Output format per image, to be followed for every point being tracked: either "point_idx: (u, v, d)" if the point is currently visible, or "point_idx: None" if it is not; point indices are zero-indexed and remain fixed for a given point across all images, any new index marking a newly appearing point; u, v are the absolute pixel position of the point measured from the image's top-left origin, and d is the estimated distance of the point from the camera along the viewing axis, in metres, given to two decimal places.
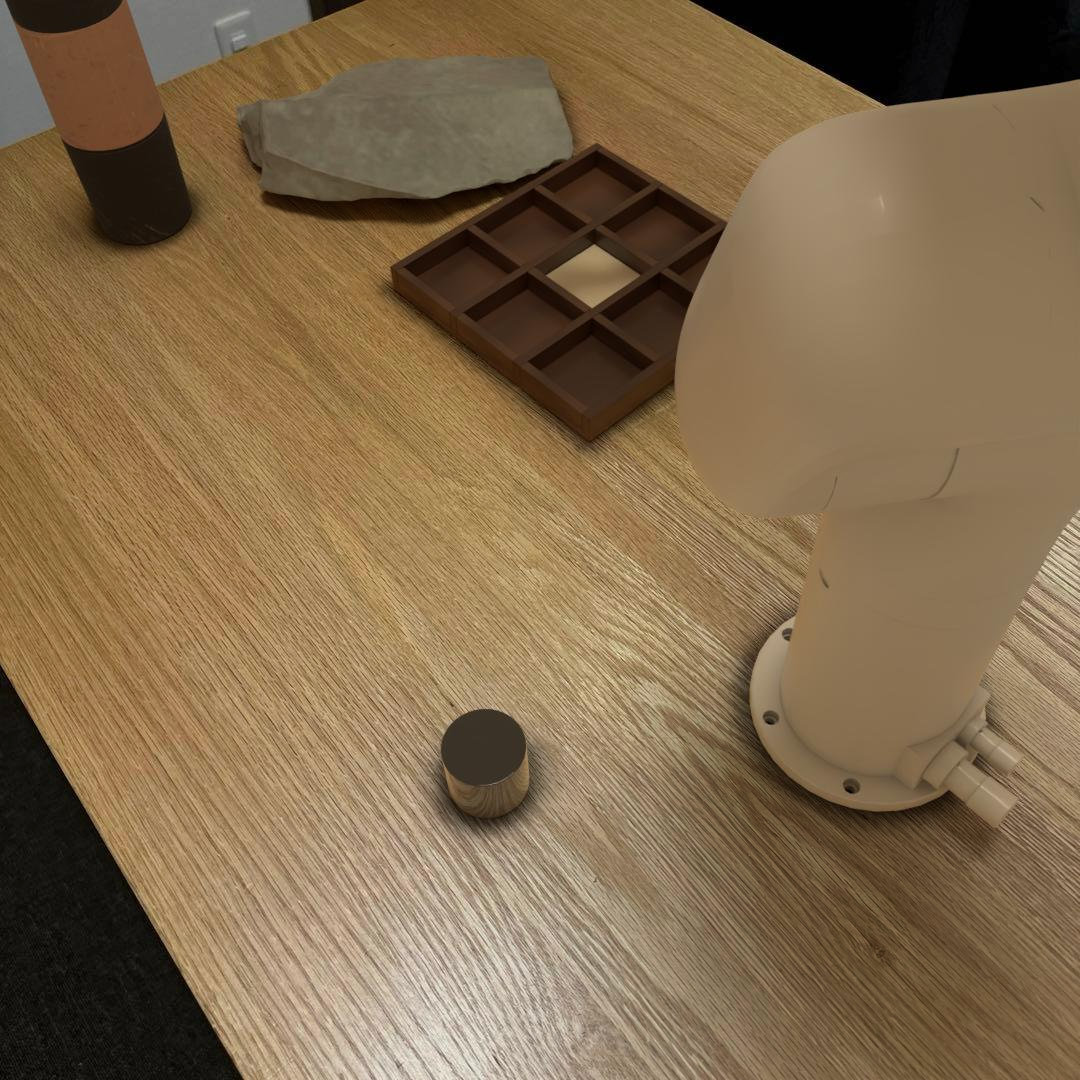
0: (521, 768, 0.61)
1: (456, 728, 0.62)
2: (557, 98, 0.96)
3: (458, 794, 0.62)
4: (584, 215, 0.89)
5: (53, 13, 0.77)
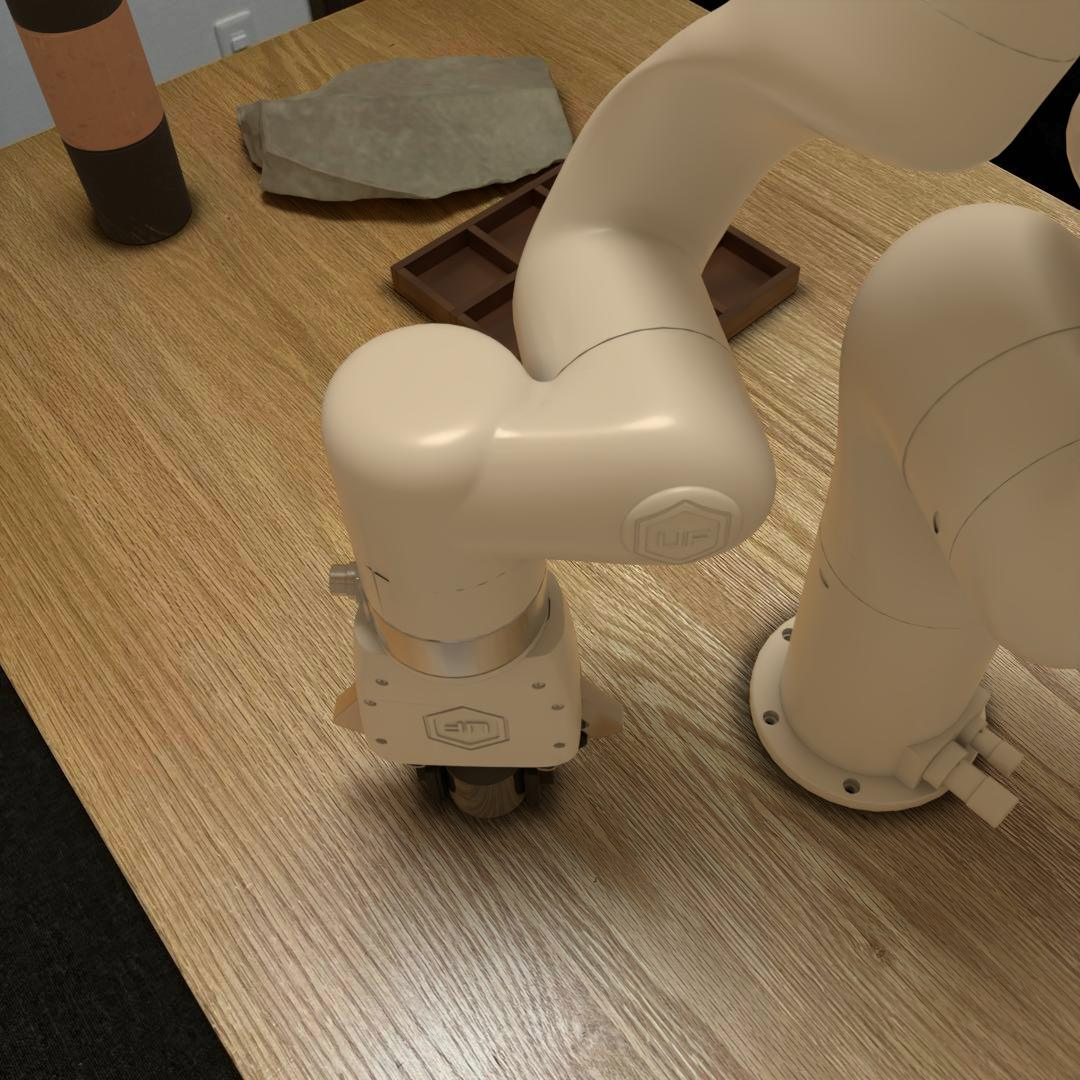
0: (521, 768, 0.61)
1: None
2: (557, 98, 0.96)
3: (458, 794, 0.62)
4: None
5: (53, 13, 0.77)
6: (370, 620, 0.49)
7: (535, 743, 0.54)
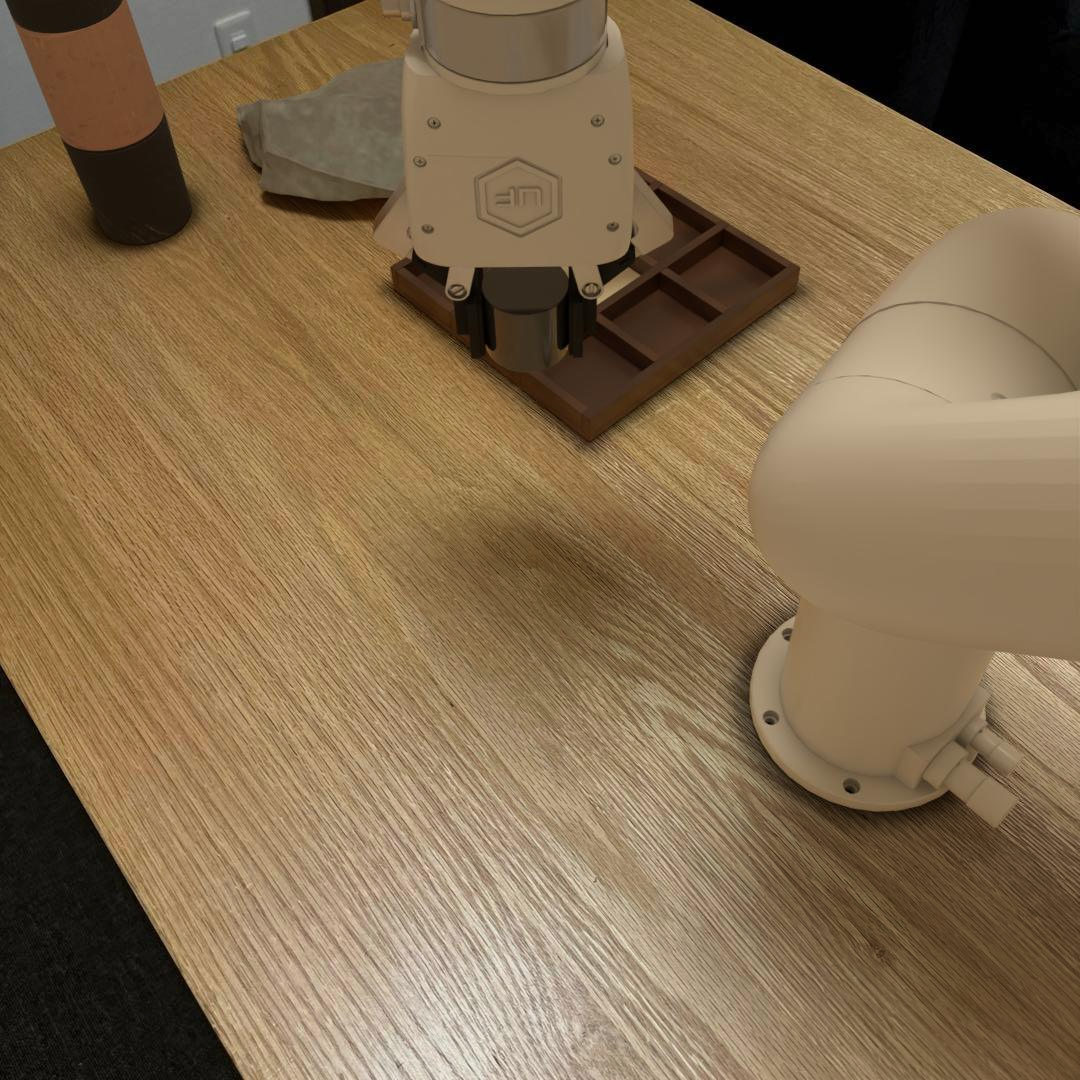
0: (565, 304, 0.59)
1: (496, 271, 0.60)
2: None
3: (499, 339, 0.60)
4: None
5: (53, 13, 0.77)
6: (423, 40, 0.47)
7: (588, 223, 0.53)
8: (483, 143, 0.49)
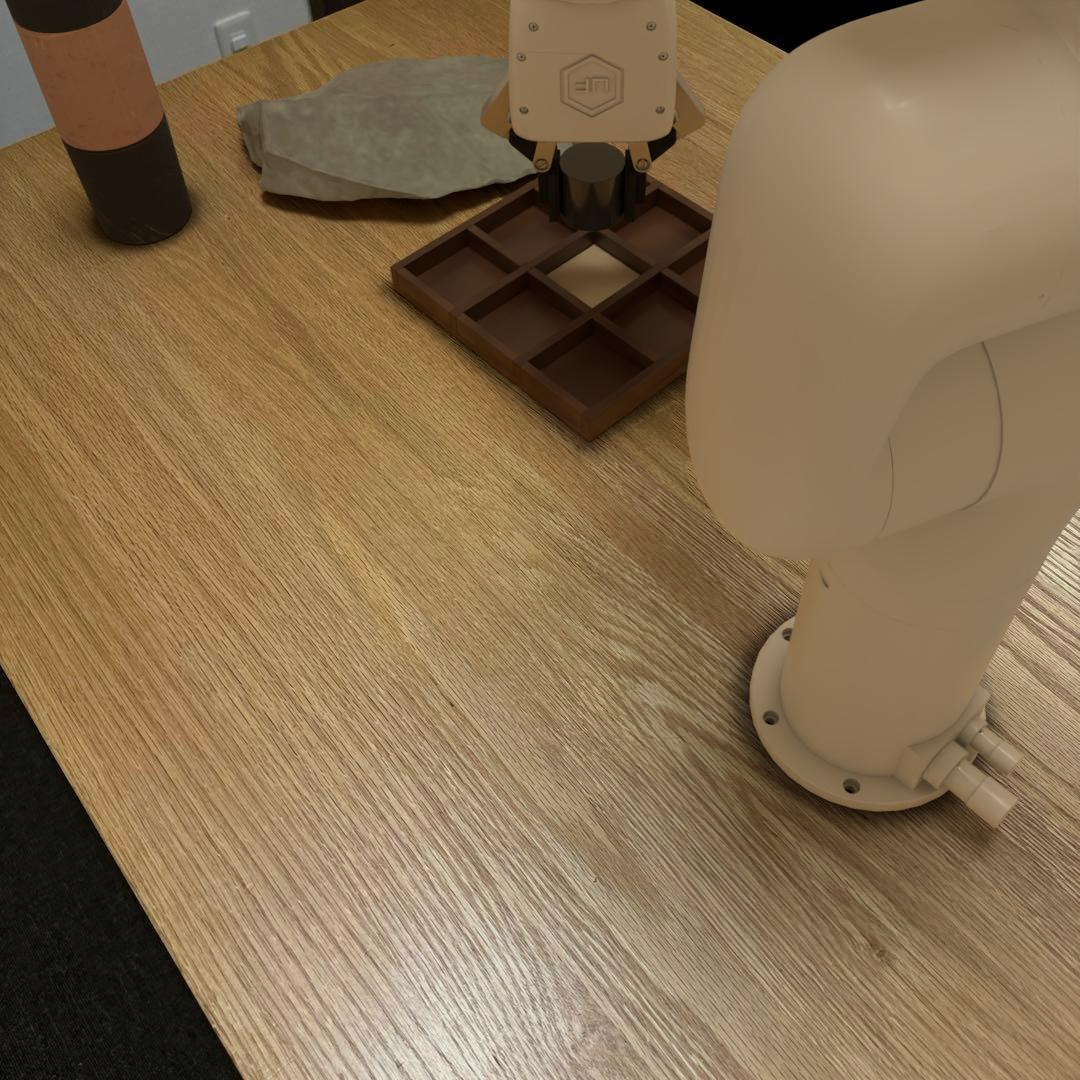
0: (622, 176, 0.78)
1: (570, 152, 0.79)
2: None
3: (571, 204, 0.79)
4: None
5: (53, 13, 0.77)
6: None
7: (642, 106, 0.72)
8: (568, 42, 0.69)
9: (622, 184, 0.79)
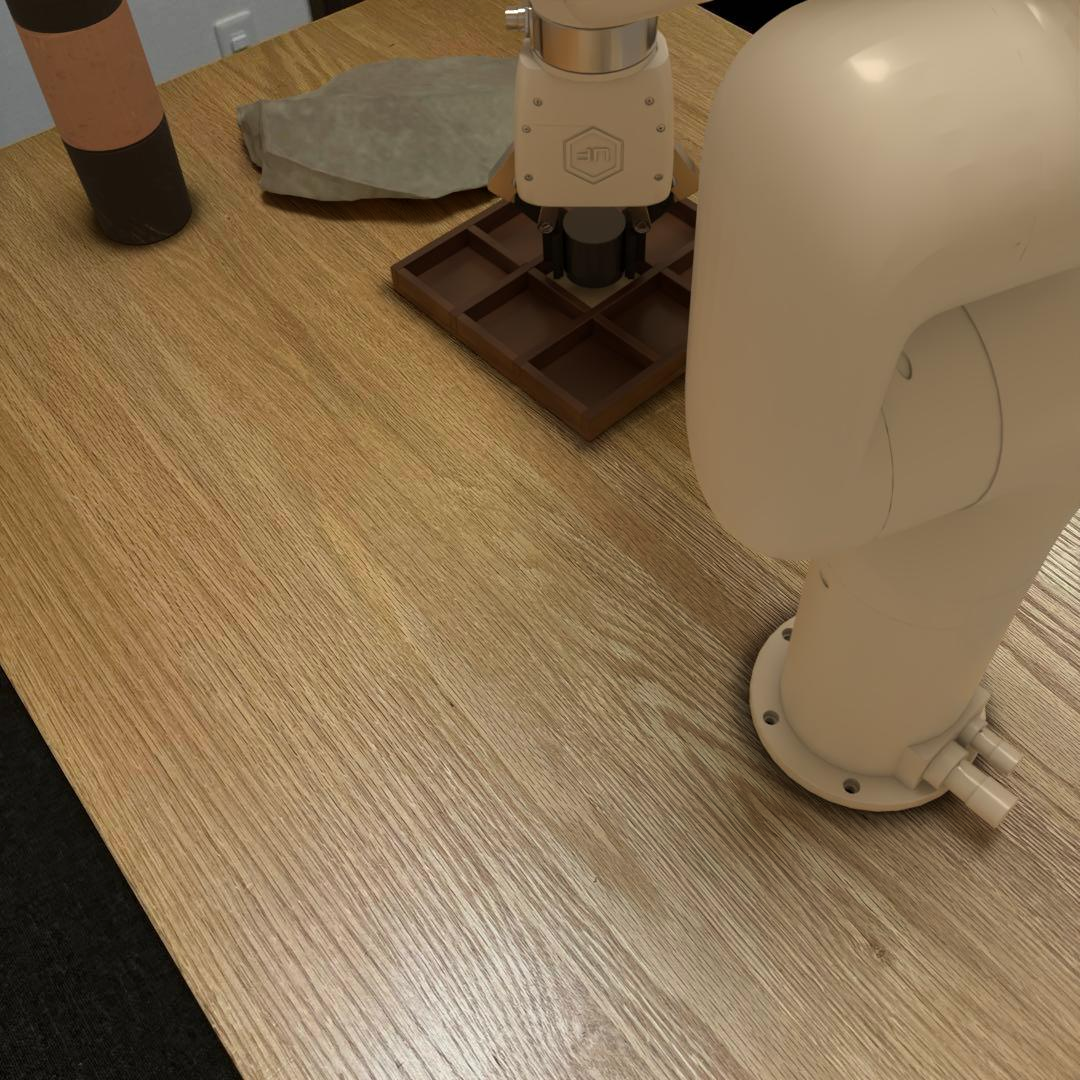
0: (623, 237, 0.82)
1: (573, 213, 0.83)
2: None
3: (574, 263, 0.83)
4: None
5: (53, 13, 0.77)
6: (533, 45, 0.70)
7: (641, 174, 0.75)
8: (570, 116, 0.72)
9: (623, 244, 0.82)
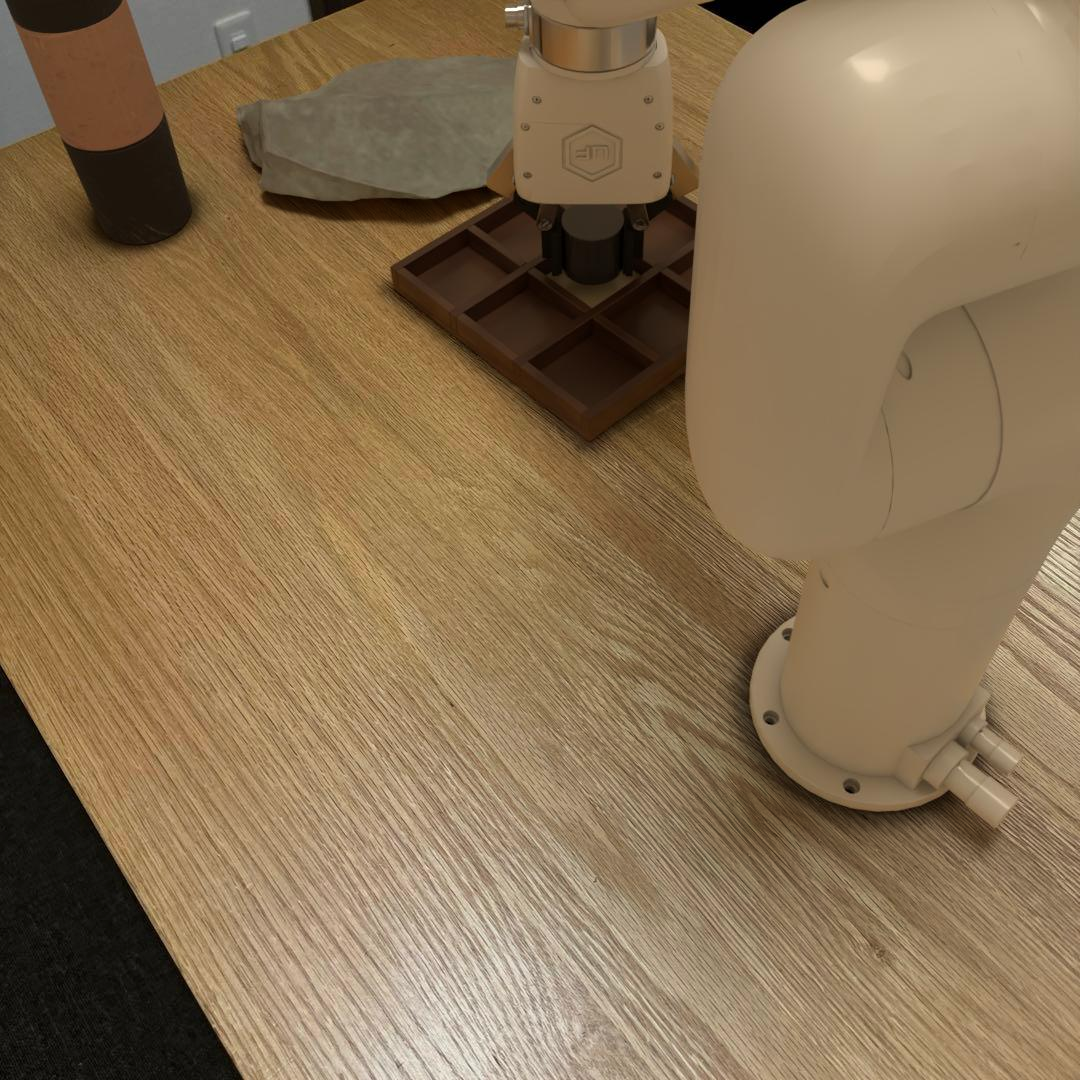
0: (621, 234, 0.82)
1: (571, 210, 0.83)
2: None
3: (573, 259, 0.83)
4: None
5: (53, 13, 0.77)
6: (532, 43, 0.70)
7: (640, 172, 0.75)
8: (569, 114, 0.72)
9: (621, 241, 0.82)
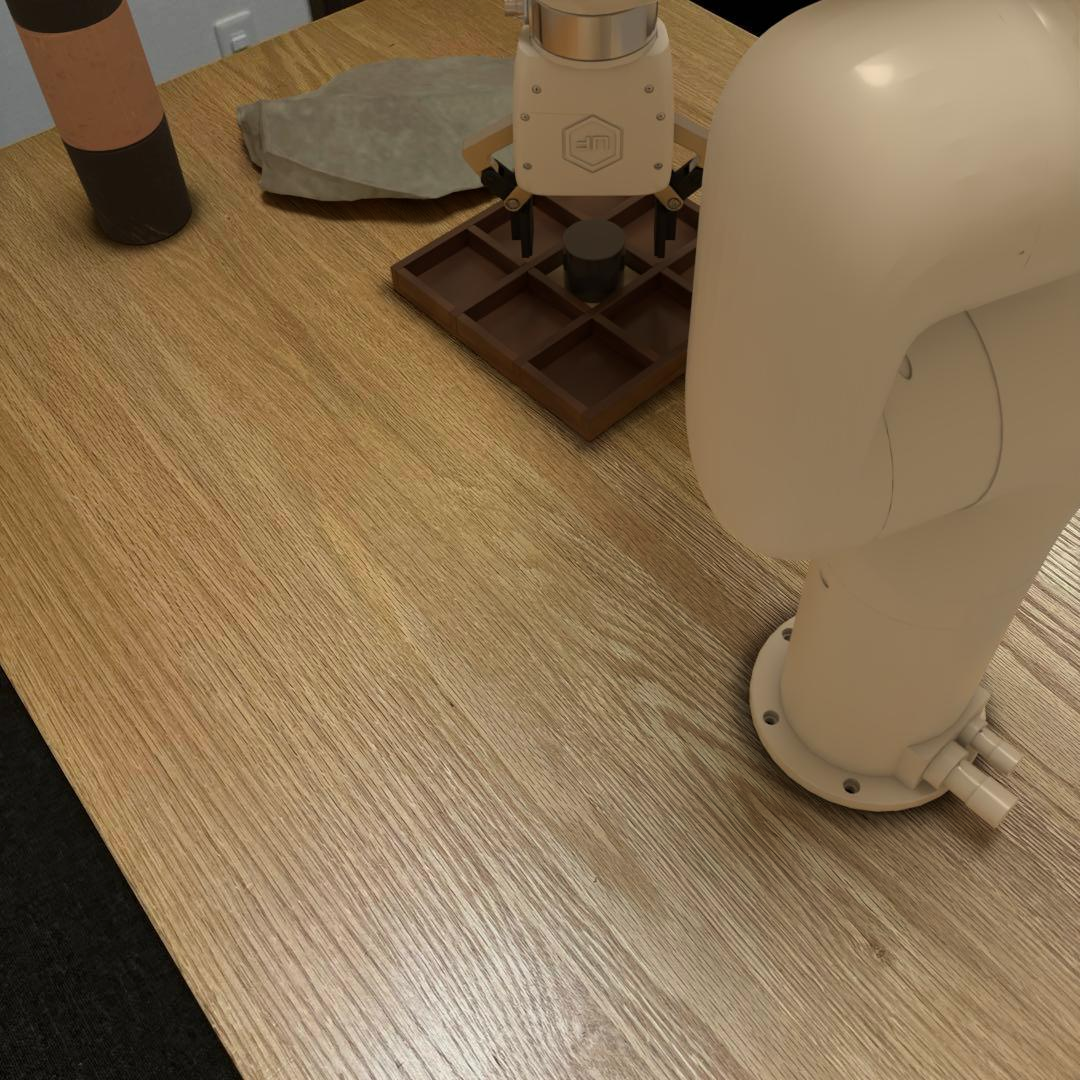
0: (622, 253, 0.83)
1: (573, 229, 0.84)
2: None
3: (574, 278, 0.84)
4: (584, 215, 0.89)
5: (53, 13, 0.77)
6: (532, 32, 0.70)
7: (641, 162, 0.75)
8: (570, 104, 0.72)
9: (622, 260, 0.83)
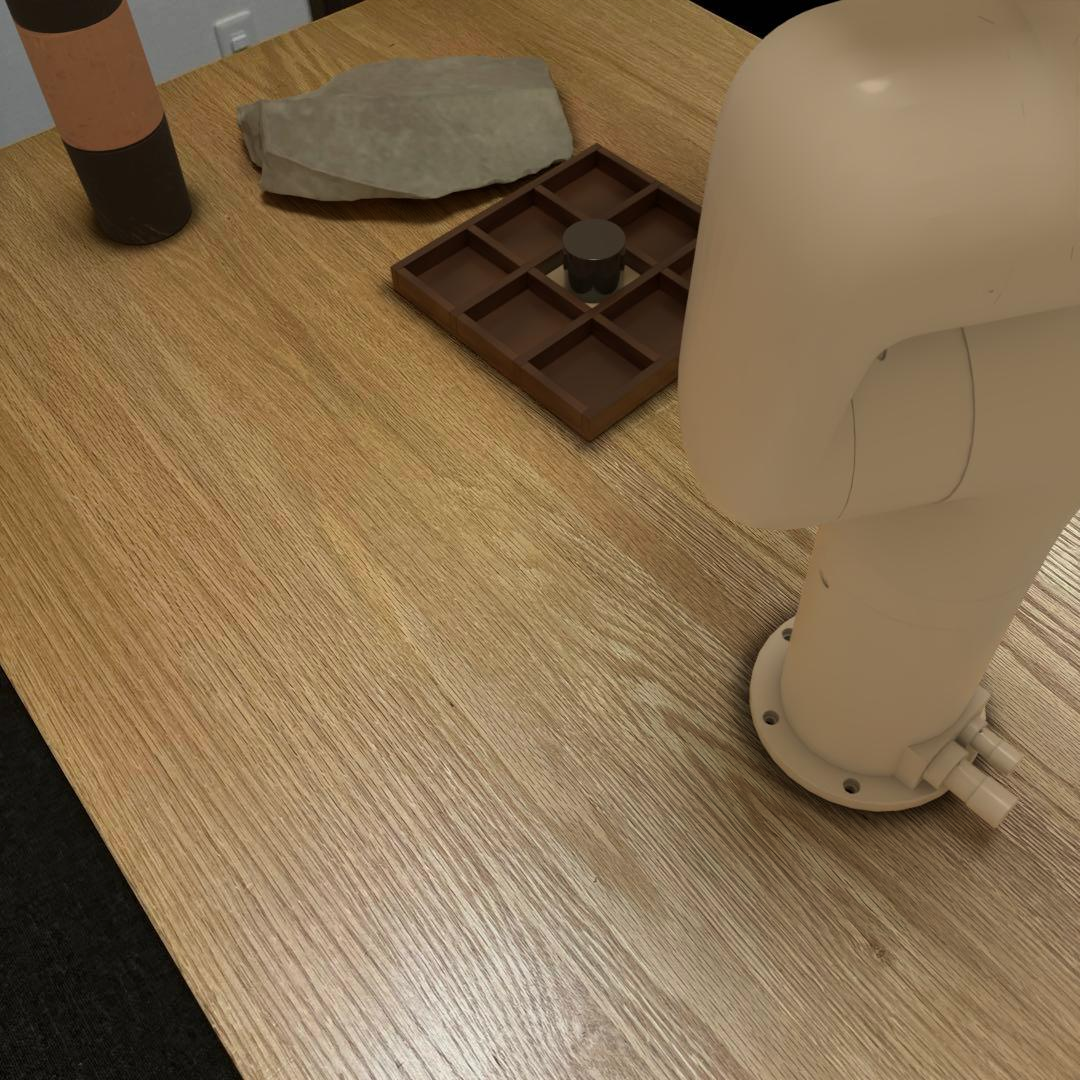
0: (622, 253, 0.83)
1: (573, 229, 0.84)
2: (557, 98, 0.96)
3: (574, 278, 0.84)
4: (584, 215, 0.89)
5: (53, 13, 0.77)
6: None
7: None
8: None
9: (622, 260, 0.83)
